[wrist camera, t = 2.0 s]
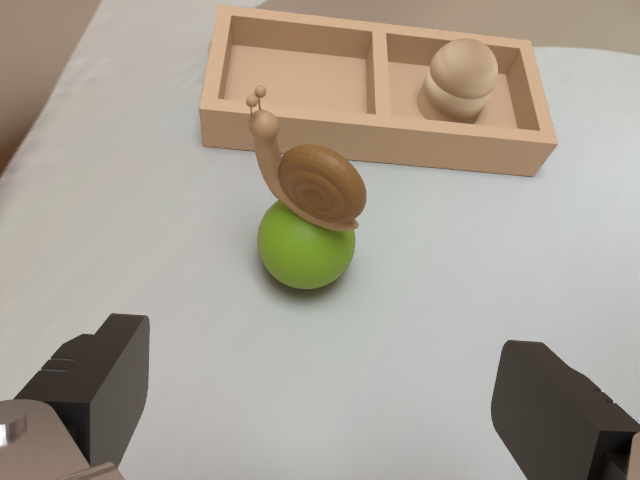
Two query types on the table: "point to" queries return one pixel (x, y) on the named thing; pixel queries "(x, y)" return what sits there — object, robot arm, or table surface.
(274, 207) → the snail figurine
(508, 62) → the divided tray
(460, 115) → the beige domed knob
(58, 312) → the table surface
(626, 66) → the table surface
